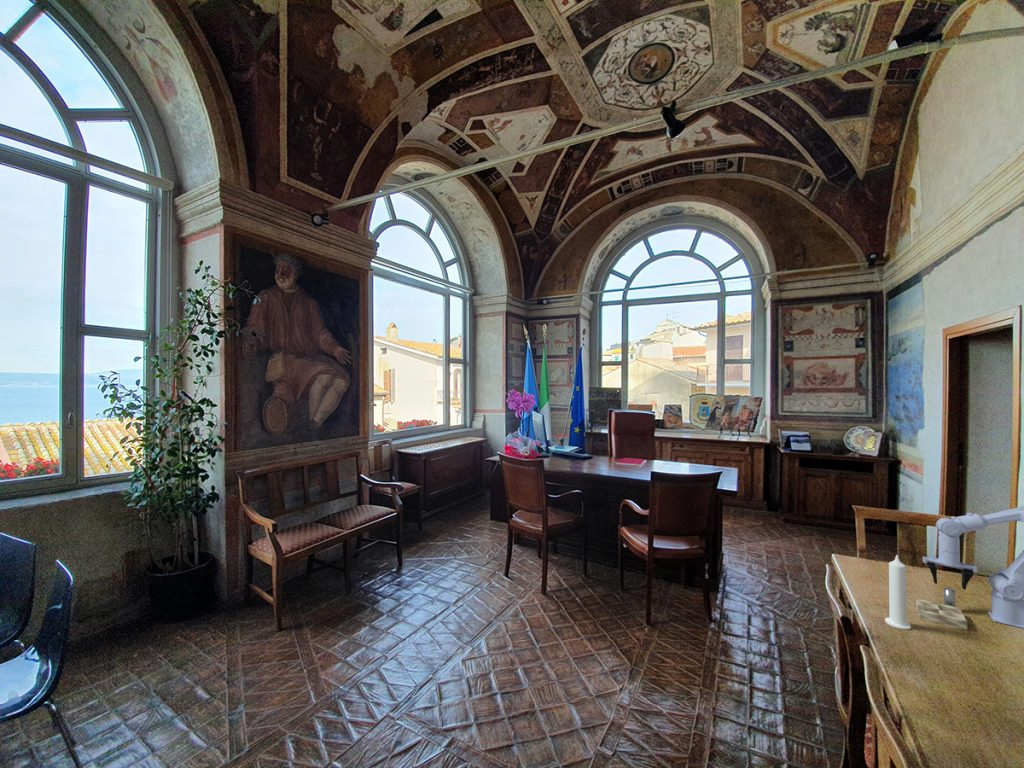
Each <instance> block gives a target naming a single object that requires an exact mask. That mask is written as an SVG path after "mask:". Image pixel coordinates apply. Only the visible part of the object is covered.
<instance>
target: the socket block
mask: <svg viewBox="0 0 1024 768" xmlns="http://www.w3.org/2000/svg"><path fill="white" fill-rule="evenodd" d="M915 608H916V611H917V613H918V617H919V619H920V620H923V621H926V622H931V623H935V624H939V625H944V626H947V627H951V628H955V629H959V630H965V631H968V620H967V619H966V617H965V616H964V613H963V612H962V610H961V608H959V607H956V606H955V607H952V606H948V605H944V603H938V602H933V601H929V600H924V599H921V598H915Z"/></svg>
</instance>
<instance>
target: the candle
mask: <svg viewBox="0 0 1024 768" xmlns="http://www.w3.org/2000/svg"><path fill="white" fill-rule="evenodd" d="M906 568H907V567H906V565H905V564H904V563H903V562H902V561H901V560H900V558H899V555H898V554H896V555H895V558H894V560H892V561H889V562H888V590H889V591H888V593H889V596H888V598H889V600H888V601H889V603H888V606H889V607H888V609H889V610H888V613H889V616H888V617H885V618H884V622H885V623H886V625H887V624H888V626H891V627H893V628H895V629H899V630H903V631H904V630H906V631H908V630H909V631H910V630H911V629H912V624H910V623H909V622H907V573H906V572H907V569H906Z"/></svg>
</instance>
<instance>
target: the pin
mask: <svg viewBox="0 0 1024 768" xmlns="http://www.w3.org/2000/svg"><path fill="white" fill-rule="evenodd" d="M943 605H948V606H952V607H956V589H954V588H950V587H946V586H945V587H943Z"/></svg>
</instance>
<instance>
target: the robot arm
mask: <svg viewBox="0 0 1024 768" xmlns="http://www.w3.org/2000/svg"><path fill="white" fill-rule="evenodd" d="M1011 522H1021V523H1024V505H1023V506H1017V507H1014V508H1010V509H1005V510H1001V511H997V512H992V513H988V514H985V515H980V514H978V513H972V512H966V514H965V515H960V516H950V518H949V517H948V518H947V517H941V518H939V519H938V520H937V521H936V523H935V527H936V528H937V530H938V537H937V538H938V542H937V543H938V557H930V556H922V562H923V563H924V564H926V565H927V567H928V569H929V570H930V572H931V575H932V579H933V583H934V584H935V585H937V584H938V578H937V576H938V575H937V573H938V567H937V566H943V567H947V568H948V567H949V568H954V569H959V570H961V589H962V590H966V589H967V586H968V583H969V581H970V580H971V579H972V578H973V577H974V573H978V567H977V566H976V565H974V564H968V563H966V562H961V552H960V551H961V546H960V543H961V540H960V536H961V535H962V534H963V533H970V532H975V531H982V530H986V529H987V527H988V526H989V525H997V524H1002V523H1003V524H1004V523H1005V524H1006V523H1011ZM988 583H989V585H990V586H991V587H992V590H991V611H987V613H988V615H989V616H990V618H991V620H992V621H993V622H995V623H1000V624H1004V625H1008V626H1014V627H1018V628H1021V629H1024V549H1023V550H1022V551H1021V553H1019V554H1018V556H1017V557H1016V558H1015V559H1014V560H1013V561H1012V562H1011V563H1010V564H1009V566H1008V567H1006V568H1002V569H1000V570H998V572H996V573H993V574H990V576H989V577H988Z"/></svg>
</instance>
